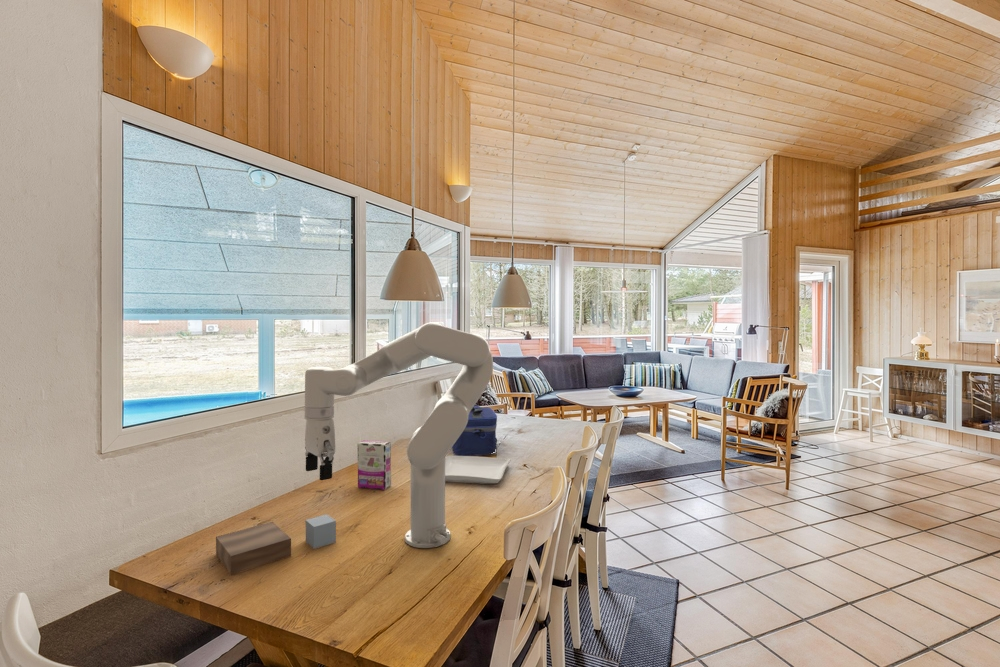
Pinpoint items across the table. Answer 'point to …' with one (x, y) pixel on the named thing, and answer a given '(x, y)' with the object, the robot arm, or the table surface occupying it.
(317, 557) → the table surface
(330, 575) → the table surface
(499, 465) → the square plate
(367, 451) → the candy bar box
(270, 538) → the walnut block
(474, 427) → the lunch bag
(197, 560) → the table surface
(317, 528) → the slate cube
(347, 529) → the table surface
